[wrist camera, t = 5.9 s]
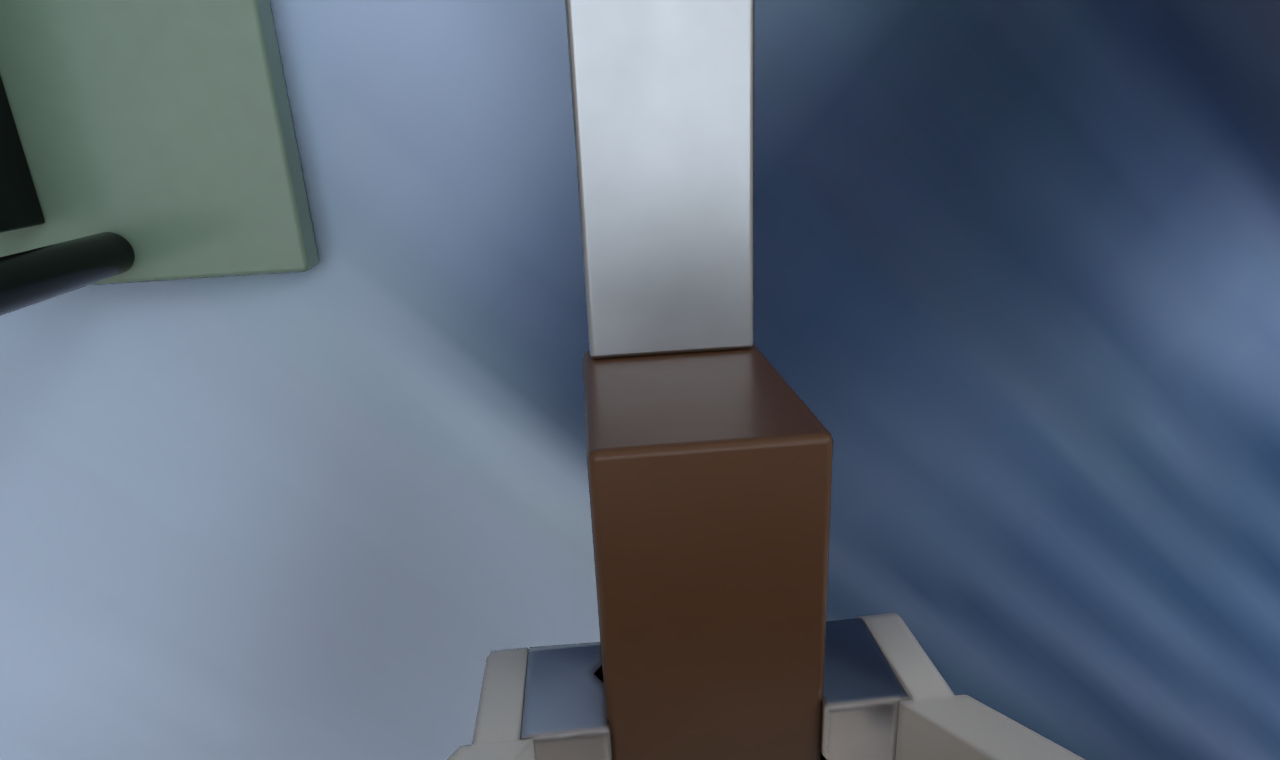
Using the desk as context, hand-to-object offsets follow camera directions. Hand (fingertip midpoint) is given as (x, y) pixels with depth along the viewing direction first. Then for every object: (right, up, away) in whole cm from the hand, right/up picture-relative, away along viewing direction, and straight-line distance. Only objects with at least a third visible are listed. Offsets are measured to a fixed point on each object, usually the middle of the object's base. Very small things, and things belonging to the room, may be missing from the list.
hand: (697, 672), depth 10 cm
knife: (0, +4, +1) cm, 4 cm away
